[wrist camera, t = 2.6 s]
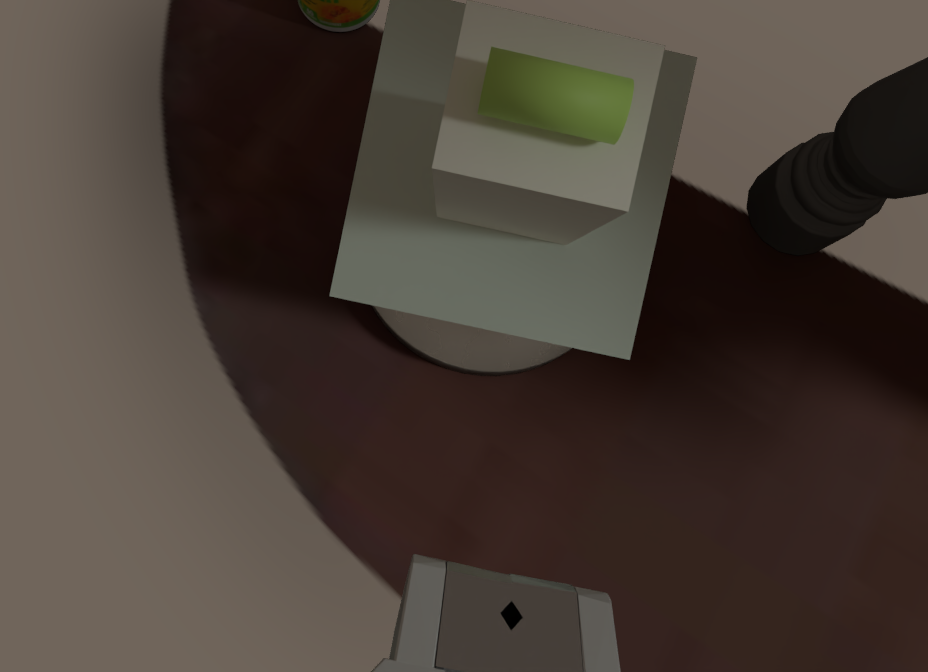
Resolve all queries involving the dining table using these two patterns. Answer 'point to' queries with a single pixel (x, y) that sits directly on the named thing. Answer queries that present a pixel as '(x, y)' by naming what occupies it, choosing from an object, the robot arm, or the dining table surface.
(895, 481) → the dining table surface
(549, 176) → the white stepped fixture
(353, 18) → the supplement bottle
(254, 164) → the dining table surface
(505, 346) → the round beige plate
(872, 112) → the candle holder
